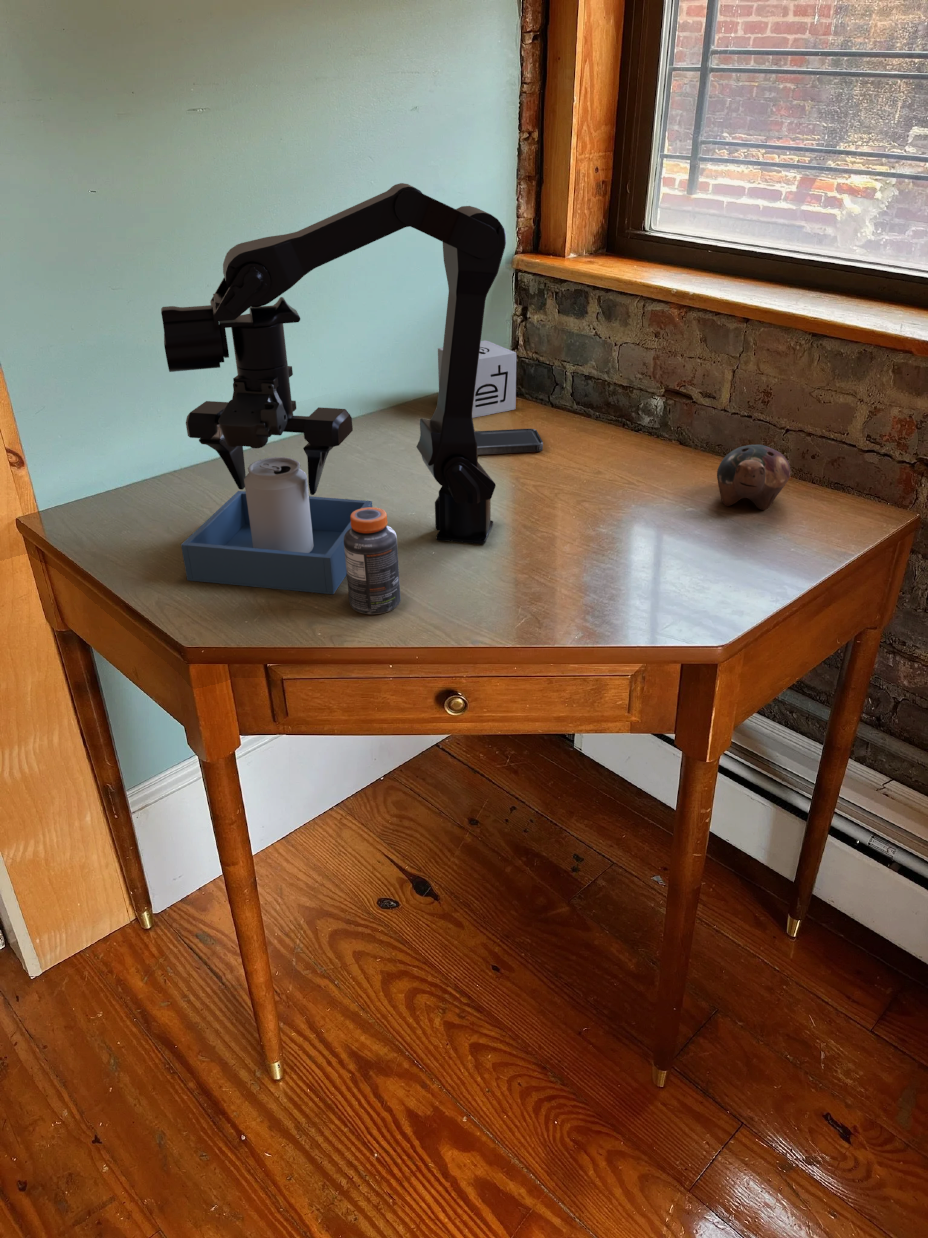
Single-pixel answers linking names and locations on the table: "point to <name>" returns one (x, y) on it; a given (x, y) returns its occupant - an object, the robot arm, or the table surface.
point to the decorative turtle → (752, 475)
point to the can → (279, 505)
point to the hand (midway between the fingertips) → (277, 491)
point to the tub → (232, 559)
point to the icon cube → (492, 379)
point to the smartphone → (508, 441)
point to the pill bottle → (372, 562)
